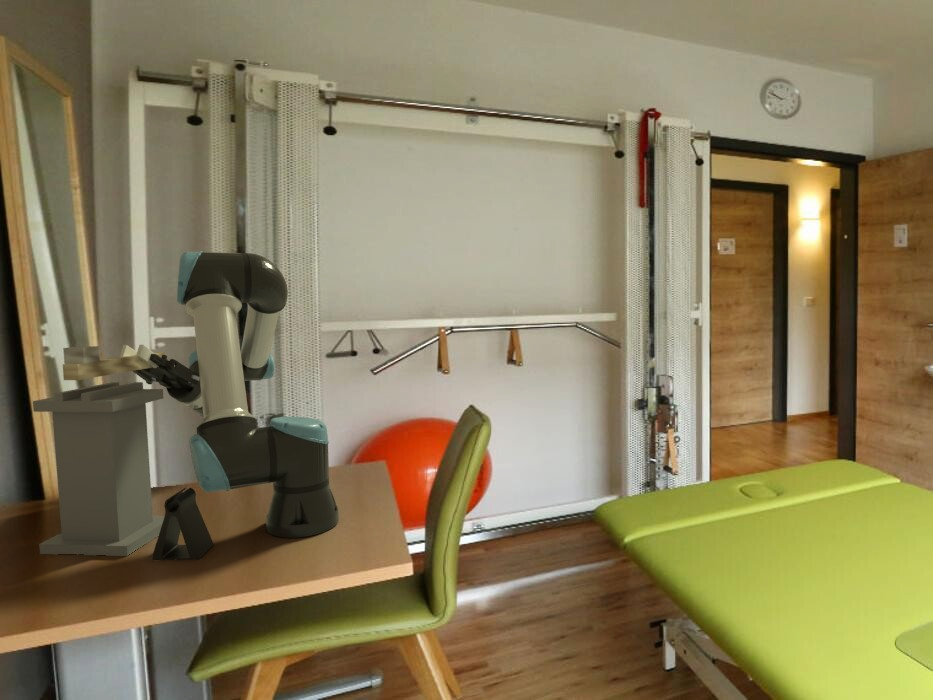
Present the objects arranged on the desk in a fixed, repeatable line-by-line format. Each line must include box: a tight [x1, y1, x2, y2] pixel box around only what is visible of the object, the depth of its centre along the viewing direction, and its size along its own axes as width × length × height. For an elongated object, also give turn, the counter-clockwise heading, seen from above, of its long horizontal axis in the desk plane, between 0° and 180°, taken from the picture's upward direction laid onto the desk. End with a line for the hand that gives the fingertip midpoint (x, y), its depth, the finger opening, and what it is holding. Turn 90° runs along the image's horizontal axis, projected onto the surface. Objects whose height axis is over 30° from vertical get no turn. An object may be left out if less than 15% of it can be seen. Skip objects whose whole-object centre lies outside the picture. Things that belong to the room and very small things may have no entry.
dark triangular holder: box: [151, 487, 214, 561], centre depth 106 cm, size 9×6×12 cm, turn 90°
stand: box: [32, 381, 165, 557], centre depth 112 cm, size 15×18×32 cm
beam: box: [62, 345, 166, 381], centre depth 116 cm, size 26×4×6 cm, turn 175°
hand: (131, 350), depth 119 cm, fingers closed on beam, 3 cm apart
